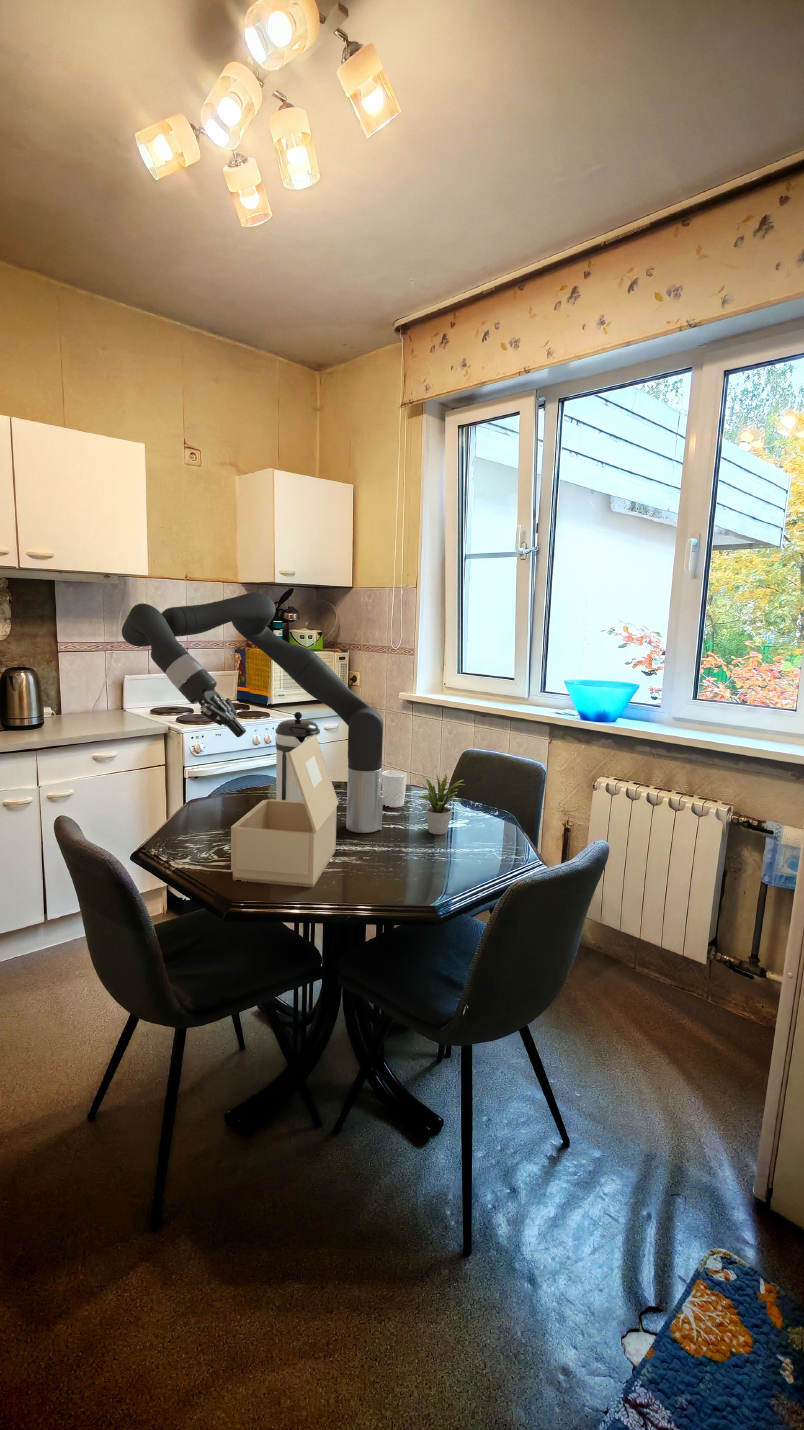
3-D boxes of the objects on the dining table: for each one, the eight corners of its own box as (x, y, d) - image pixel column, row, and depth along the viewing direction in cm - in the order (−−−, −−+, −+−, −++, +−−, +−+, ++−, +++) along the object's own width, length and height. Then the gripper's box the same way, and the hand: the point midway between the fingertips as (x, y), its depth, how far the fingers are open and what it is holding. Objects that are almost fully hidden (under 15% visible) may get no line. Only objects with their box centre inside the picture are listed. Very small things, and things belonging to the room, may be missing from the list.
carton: (335, 850, 163) (337, 804, 161) (312, 888, 140) (313, 835, 138) (264, 844, 165) (264, 798, 163) (229, 881, 142) (229, 828, 140)
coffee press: (334, 810, 195) (336, 711, 191) (298, 823, 182) (300, 717, 177) (291, 799, 205) (292, 705, 200) (254, 811, 191) (254, 710, 186)
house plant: (469, 842, 173) (473, 782, 170) (418, 841, 172) (420, 781, 169) (460, 824, 187) (464, 769, 184) (413, 823, 186) (415, 768, 183)
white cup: (387, 809, 199) (388, 777, 197) (376, 802, 206) (377, 771, 204) (410, 806, 202) (411, 775, 201) (398, 799, 209) (399, 769, 208)
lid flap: (336, 803, 160) (339, 803, 160) (314, 832, 139) (317, 831, 139) (313, 735, 158) (316, 734, 158) (287, 753, 137) (290, 752, 137)
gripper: (192, 686, 156) (241, 739, 156) (166, 692, 143) (219, 751, 143) (213, 665, 154) (263, 719, 155) (188, 670, 141) (243, 728, 142)
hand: (242, 734), depth 149 cm, fingers closed
